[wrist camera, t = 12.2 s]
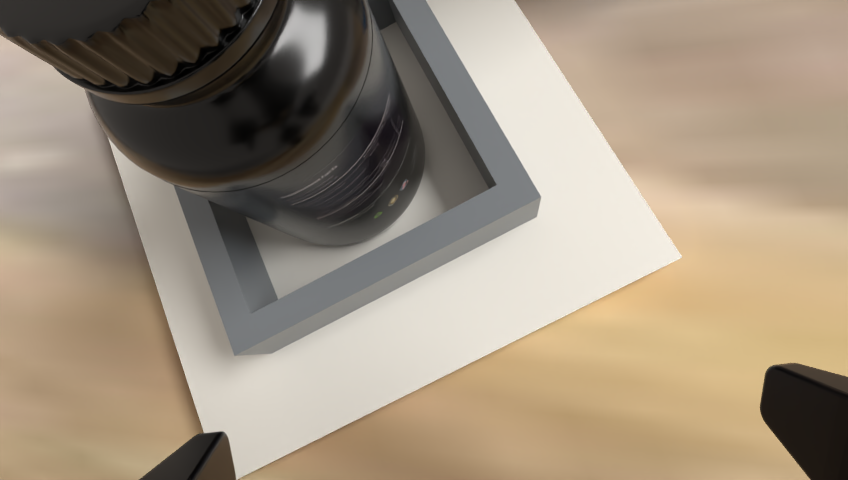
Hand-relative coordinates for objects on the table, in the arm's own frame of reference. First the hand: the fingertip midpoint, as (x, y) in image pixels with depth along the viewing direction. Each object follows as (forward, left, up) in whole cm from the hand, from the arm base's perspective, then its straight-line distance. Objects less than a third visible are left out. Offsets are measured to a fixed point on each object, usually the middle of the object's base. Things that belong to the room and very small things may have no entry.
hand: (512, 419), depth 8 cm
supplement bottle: (+10, +2, -9) cm, 13 cm away
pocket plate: (+10, +2, -10) cm, 14 cm away
